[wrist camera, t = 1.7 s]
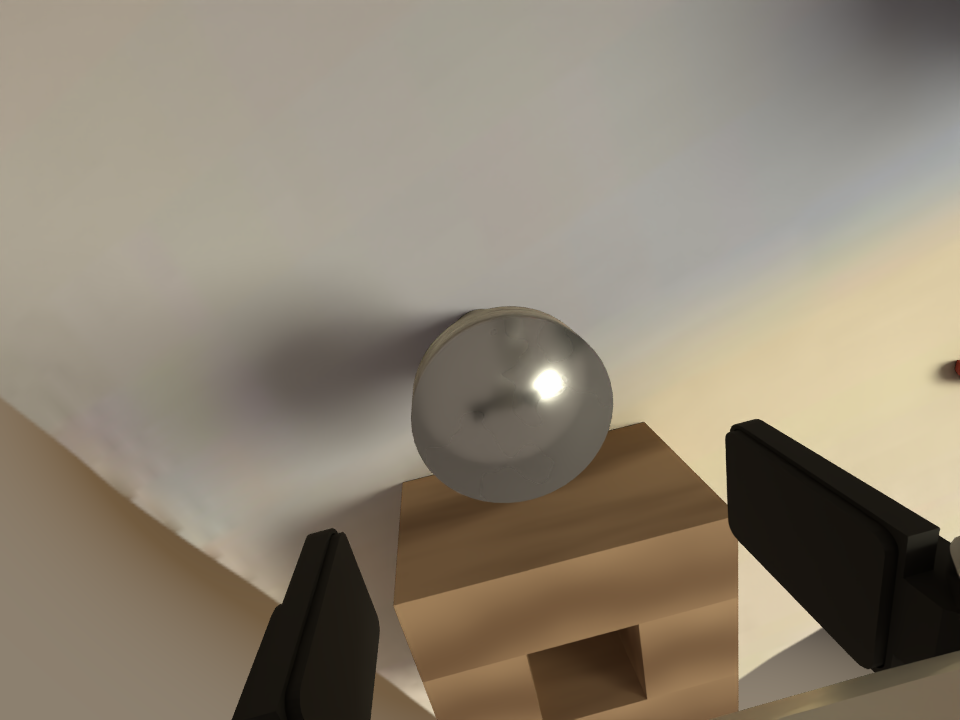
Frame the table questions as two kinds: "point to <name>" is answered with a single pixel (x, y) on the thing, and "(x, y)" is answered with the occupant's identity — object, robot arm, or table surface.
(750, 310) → the table surface
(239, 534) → the table surface
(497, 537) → the socket block
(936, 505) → the table surface
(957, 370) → the pliers
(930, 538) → the robot arm
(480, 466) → the grey metal rounded piece
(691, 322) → the table surface
